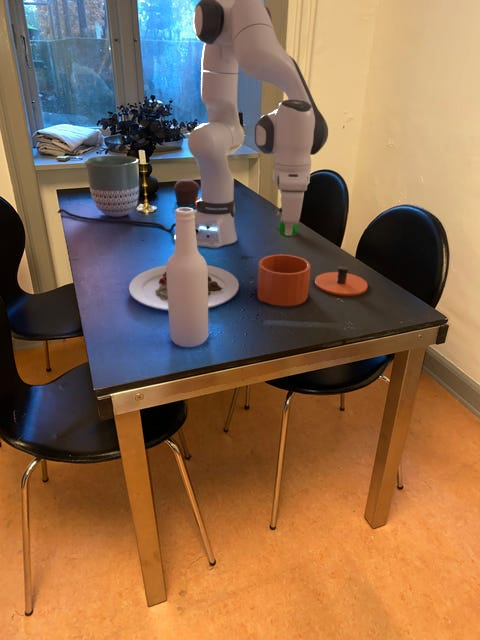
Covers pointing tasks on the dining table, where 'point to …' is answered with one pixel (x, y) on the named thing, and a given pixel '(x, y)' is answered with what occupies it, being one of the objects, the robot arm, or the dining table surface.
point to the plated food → (154, 287)
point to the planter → (113, 183)
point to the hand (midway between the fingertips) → (287, 230)
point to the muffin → (186, 192)
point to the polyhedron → (282, 229)
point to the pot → (283, 280)
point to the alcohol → (187, 285)
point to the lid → (341, 283)
